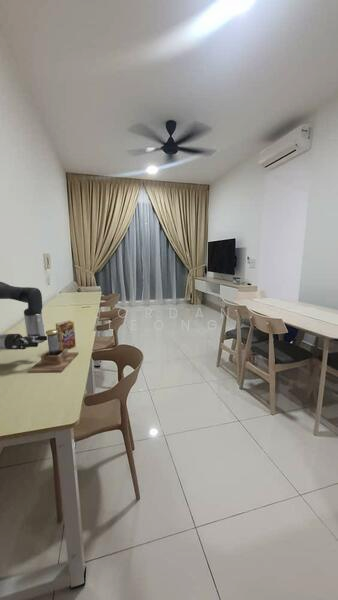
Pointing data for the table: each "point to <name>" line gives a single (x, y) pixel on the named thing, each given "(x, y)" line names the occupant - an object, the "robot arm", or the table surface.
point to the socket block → (54, 361)
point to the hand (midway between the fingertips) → (42, 341)
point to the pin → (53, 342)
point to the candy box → (66, 334)
